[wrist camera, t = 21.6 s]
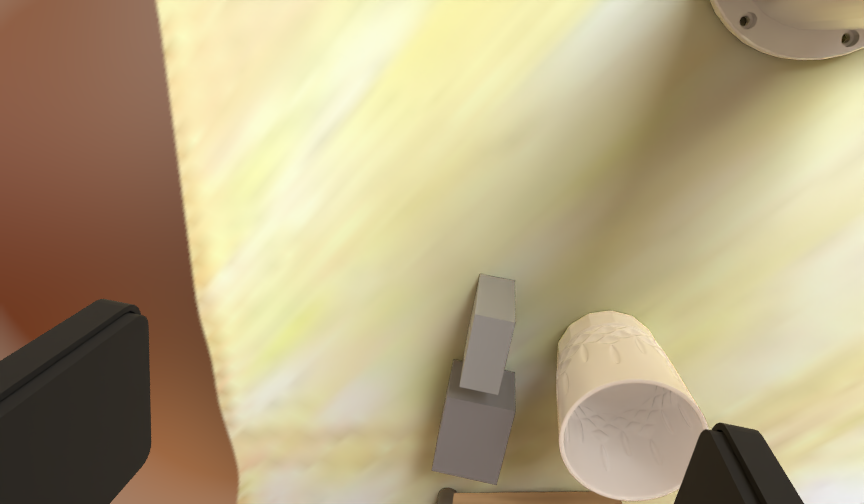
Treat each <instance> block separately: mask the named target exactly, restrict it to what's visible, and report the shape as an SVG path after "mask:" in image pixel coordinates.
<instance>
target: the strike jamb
mask: <svg viewBox="0 0 864 504" xmlns="http://www.w3.org/2000/svg"><path fill="white" fill-rule="evenodd" d="M515 323H516V318H515V281H514V280H509V279H504V278H499V277H494V276H489V275H484V274H480V277H479V281H478V286H477V291H476V296H475V300H474V305H473V310H472V314H471V319H470V324H469V329H468V333H467V338H466V345H465V352H464V359H463V366H462V372H461V379H460V386H459V387H463V388H468V389H472V390H477V391H482V392H486V393H491V394H496V395H498V393H499V389H500V385H501V381H502V377H503V373H504V368H505V364H506V360H507V356H508V352H509V348H510V344H511V340H512V335H513V331H514V327H515Z"/></svg>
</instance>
